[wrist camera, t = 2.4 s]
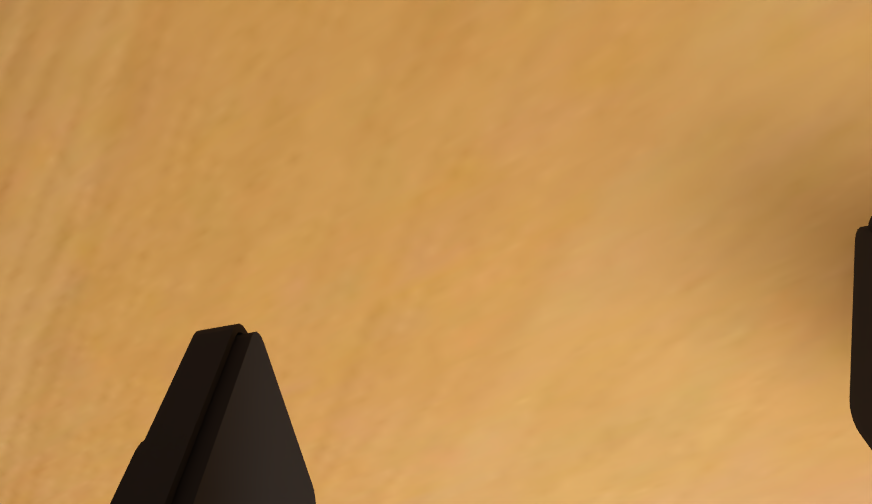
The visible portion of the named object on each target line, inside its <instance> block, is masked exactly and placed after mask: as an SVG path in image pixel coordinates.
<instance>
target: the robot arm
mask: <svg viewBox="0 0 872 504" xmlns="http://www.w3.org/2000/svg"><path fill="white" fill-rule="evenodd" d="M850 409H851V414H852V418H853V421H854V423H855V426H856V428H857V429H858V431H859V433H860V434H861V436H862V437H863V438H864V440H865V441H866V443H867V444H868V445H869V447H870V448H871V450H872V216H871V218H870V221H869V224H868V226H864V227H860V228H859V229H858V230H857V233H856V237H855V257H854V287H853V316H852V345H851V374H850ZM110 504H316V502H315V494H314V489H313V485H312V482H311V479H310V476H309V473H308V471H307V468H306V465H305V462H304V459H303V456H302V453H301V450H300V447H299V444H298V441H297V438H296V436H295V433H294V430H293V427H292V424H291V421H290V418H289V415H288V412H287V409H286V406H285V403H284V400H283V398H282V395H281V392H280V389H279V386H278V383H277V380H276V377H275V374H274V371H273V368H272V365H271V363H270V360H269V357H268V354H267V351H266V348H265V345H264V342H263V340H262V337H261V336H260V334H259V333H257V332H252V333H247V331H246V330H245V328H244V327H243V326H242V325H241V324H234V325H229V326H223V327H217V328H211V329H206V330H200V331H196V333H195V334H194V335H193V338H192V340H191V342H190V344H189V346H188V348H187V350H186V353H185V355H184V357H183V359H182V361H181V363H180V365H179V367H178V370H177V372H176V374H175V376H174V378H173V380H172V382H171V385H170V387H169V389H168V391H167V393H166V395H165V397H164V400H163V402H162V404H161V406H160V408H159V410H158V412H157V414H156V417H155V419H154V421H153V423H152V425H151V427H150V429H149V432H148V434H147V436H146V438H145V440H144V441H143V442H141V443H140V445H139V446H138V448H137V449H136V451H135V452H134V455H133V457H132V459H131V461H130V463H129V465H128V467H127V469H126V471H125V474H124V476H123V478H122V480H121V482H120V484H119V486H118V488H117V490H116V493H115V495H114V497H113V499H112V501H111V503H110Z"/></svg>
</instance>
